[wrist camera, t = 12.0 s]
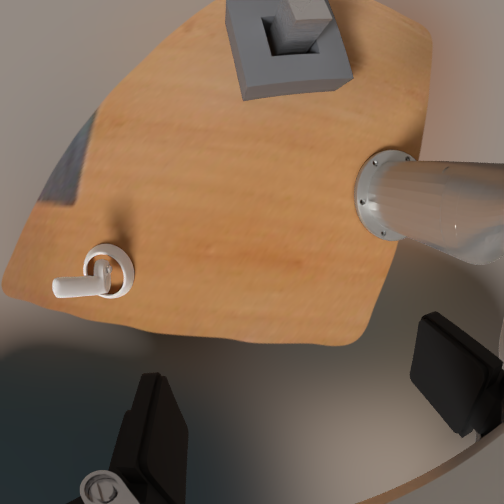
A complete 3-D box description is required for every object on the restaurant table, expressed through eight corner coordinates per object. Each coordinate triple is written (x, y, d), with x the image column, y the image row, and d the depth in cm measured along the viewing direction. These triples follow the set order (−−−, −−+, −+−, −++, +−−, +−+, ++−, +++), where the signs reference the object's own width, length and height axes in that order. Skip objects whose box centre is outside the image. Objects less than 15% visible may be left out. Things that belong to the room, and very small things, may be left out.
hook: (37, 241, 28) (56, 244, 25) (110, 242, 39) (139, 245, 36) (38, 301, 29) (58, 314, 25) (109, 293, 39) (138, 302, 36)
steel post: (290, 41, 30) (319, -9, 17) (297, 63, 31) (332, 18, 18) (264, 45, 30) (284, -9, 17) (271, 67, 31) (295, 19, 18)
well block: (312, 16, 29) (326, -4, 23) (334, 90, 32) (353, 78, 26) (225, 22, 28) (226, 0, 23) (243, 101, 32) (247, 87, 26)
